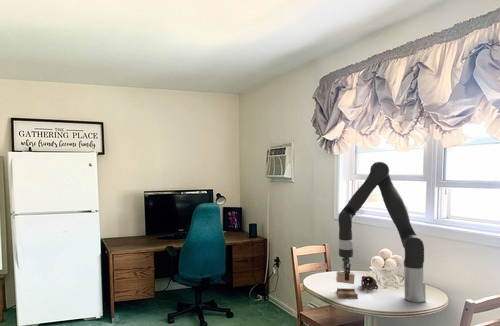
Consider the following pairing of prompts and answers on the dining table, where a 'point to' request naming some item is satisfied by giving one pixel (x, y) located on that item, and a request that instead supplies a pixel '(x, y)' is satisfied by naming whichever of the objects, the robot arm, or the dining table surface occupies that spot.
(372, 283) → the dark brown rounded lump
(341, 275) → the light brown block
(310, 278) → the dining table surface
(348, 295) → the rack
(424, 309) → the dining table surface
